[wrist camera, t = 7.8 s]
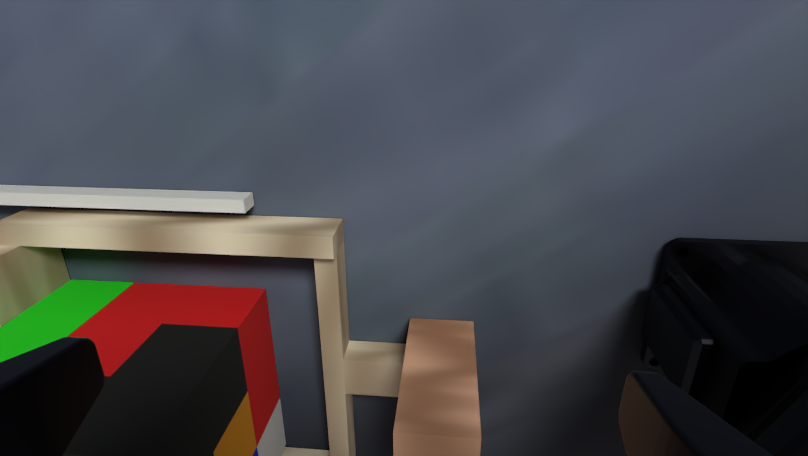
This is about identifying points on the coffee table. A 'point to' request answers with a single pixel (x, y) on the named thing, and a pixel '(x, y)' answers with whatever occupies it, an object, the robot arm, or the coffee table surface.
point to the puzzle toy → (166, 367)
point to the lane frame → (127, 198)
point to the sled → (342, 359)
